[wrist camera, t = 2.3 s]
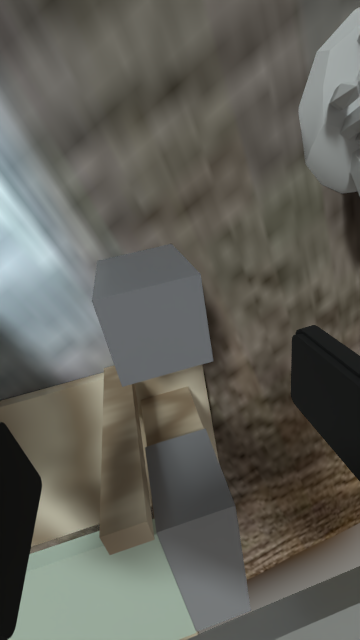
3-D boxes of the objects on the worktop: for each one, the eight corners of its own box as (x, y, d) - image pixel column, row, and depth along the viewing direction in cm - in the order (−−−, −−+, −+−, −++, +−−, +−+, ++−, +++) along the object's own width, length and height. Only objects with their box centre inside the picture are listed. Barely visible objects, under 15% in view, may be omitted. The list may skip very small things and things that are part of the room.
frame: (196, 343, 23) (269, 480, 13) (220, 477, 31) (276, 628, 21) (-112, 427, 21) (-342, 686, 10) (2, 549, 29) (-59, 763, 18)
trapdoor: (204, 423, 18) (234, 500, 14) (226, 536, 25) (251, 614, 20) (-71, 507, 16) (-137, 627, 12) (31, 606, 23) (12, 708, 19)
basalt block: (171, 243, 19) (200, 274, 13) (183, 309, 22) (213, 361, 16) (97, 260, 19) (92, 300, 13) (118, 326, 21) (122, 387, 15)
